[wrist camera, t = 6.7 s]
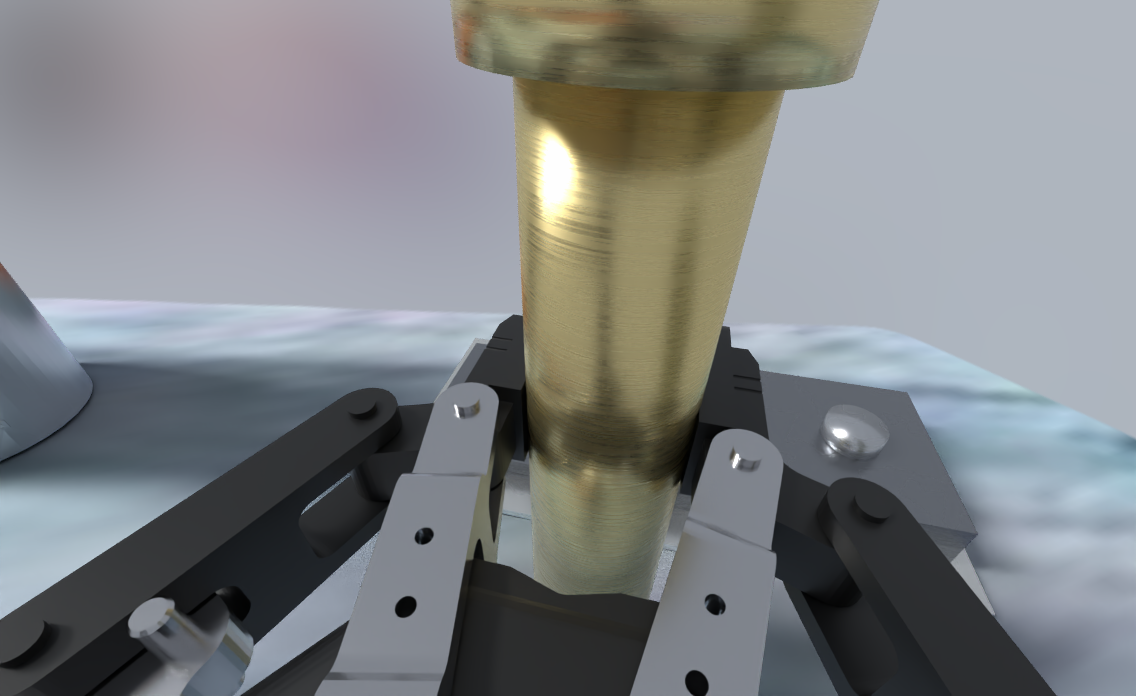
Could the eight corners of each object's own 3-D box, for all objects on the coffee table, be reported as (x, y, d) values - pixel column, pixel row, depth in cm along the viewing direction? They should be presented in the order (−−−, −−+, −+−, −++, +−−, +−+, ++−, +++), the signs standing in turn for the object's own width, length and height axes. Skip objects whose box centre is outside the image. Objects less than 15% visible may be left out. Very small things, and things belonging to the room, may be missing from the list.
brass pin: (491, 613, 18) (379, -66, 6) (598, 541, 20) (664, -47, 8) (569, 756, 14) (648, -107, 3) (686, 651, 17) (989, -57, 5)
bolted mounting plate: (382, 487, 25) (364, 437, 22) (476, 342, 35) (470, 297, 33) (990, 618, 20) (1046, 572, 18) (894, 407, 30) (922, 360, 28)
